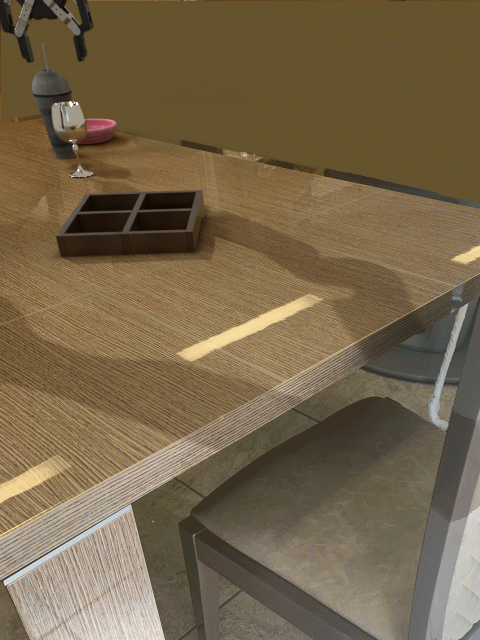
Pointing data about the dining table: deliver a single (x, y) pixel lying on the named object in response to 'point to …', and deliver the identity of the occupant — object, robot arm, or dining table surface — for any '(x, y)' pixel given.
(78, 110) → the wineglass
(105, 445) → the dining table surface
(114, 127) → the pink round shallow bowl
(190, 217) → the tray
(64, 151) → the beverage cup
